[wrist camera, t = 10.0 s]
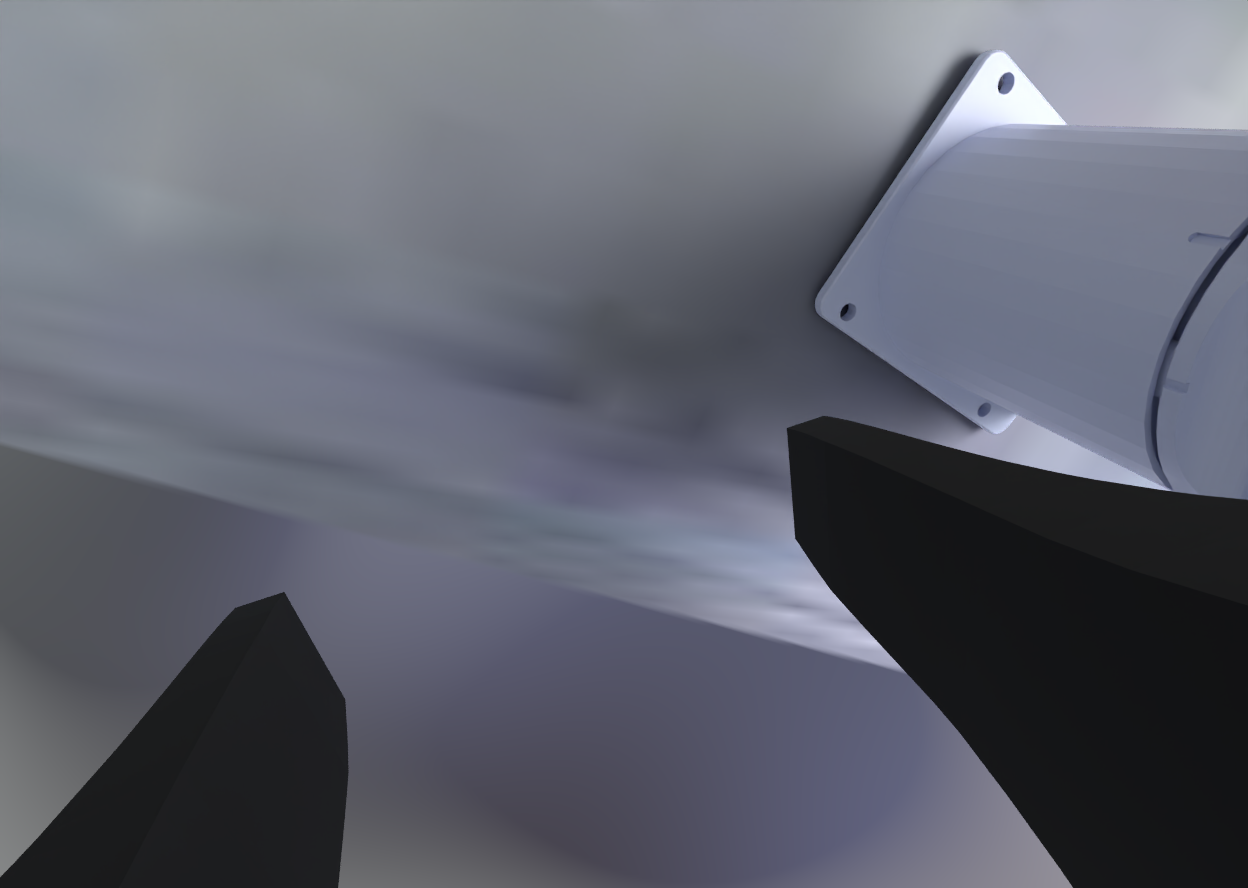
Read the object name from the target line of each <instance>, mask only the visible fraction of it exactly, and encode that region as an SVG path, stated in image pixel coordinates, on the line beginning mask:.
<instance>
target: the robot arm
mask: <svg viewBox="0 0 1248 888" xmlns="http://www.w3.org/2000/svg"><path fill="white" fill-rule="evenodd" d="M1001 76H1002V77H1003V85H1002V87H1001V90H1000V91H998V82H999V79H1000V77H1001ZM846 304H848V308H849V309H848V311H847V313H846V314H845V315H844V316H843V317H840V312H841V310H842V308H843V307H844V306H845V305H846ZM815 309H816V312H817V313H818V314H819V315H820V316H821V317H822V318H824V319H825V320H826V321H828V322H829V323H831V324H832V325H834V326H835V327H837V328H838V329H839V330H841V331H842V332H844V333H845V334H847V335H848V336H850V337H851V338H852V339H854V340H855V341H857V342H858V343H860V344H861V345H863V346H864V347H865V348H867V349H868V350H870V351H871V352H873V353H874V354H876V355H877V356H878V357H880V358H881V359H883V360H884V361H886V362H887V363H889V364H890V365H891V366H893V367H894V368H896V369H897V370H899V371H900V372H902V373H903V374H904V375H906V376H907V377H909V378H910V379H912V380H913V381H915V382H916V383H918V384H919V385H920V386H922V387H923V388H925V389H926V390H928V391H929V392H931V393H932V394H933V395H935V396H936V397H938V398H939V399H941V400H942V401H944V402H945V403H946V404H948V405H949V406H951V407H952V408H954V409H955V410H957V411H958V412H959V413H961V414H962V415H964V416H965V417H967V418H968V419H970V420H971V421H972V422H974V423H975V424H977V425H978V426H980V427H981V428H983V429H984V430H986V431H988V432H989V433H992V434H999V433H1001V432H1002V431H1004V430H1005V429H1006V428H1007V427H1008V426H1009V425H1010V424H1011V422H1012V421H1013V420H1014V419H1015V417H1016V416H1017V415H1019V416H1021V417H1023V418H1025V419H1027V420H1029V421H1031V422H1033V423H1035V424H1037V425H1040V426H1042V427H1044V428H1046V429H1048V430H1050V431H1052V432H1054V433H1056V434H1058V435H1060V436H1062V437H1064V438H1066V439H1068V440H1070V441H1072V442H1074V443H1076V444H1078V445H1080V446H1082V447H1084V448H1086V449H1088V450H1090V451H1092V452H1094V453H1096V454H1098V455H1100V456H1102V457H1104V458H1106V459H1108V460H1110V461H1112V462H1114V463H1116V464H1118V465H1120V466H1122V467H1124V468H1126V469H1128V470H1130V471H1132V472H1134V473H1136V474H1138V475H1140V476H1142V477H1144V478H1146V479H1148V480H1150V481H1152V482H1154V483H1156V484H1158V485H1161V486H1163V487H1165V488H1167V489H1169V490H1171V491H1165V490H1157V489H1151V488H1145V487H1138V486H1132V485H1126V484H1119V483H1113V482H1106V481H1100V480H1094V479H1088V478H1083V477H1077V476H1072V475H1067V474H1062V473H1057V472H1052V471H1047V470H1043V469H1038V468H1034V467H1029V466H1024V465H1020V464H1015V463H1011V462H1006V461H1002V460H998V459H994V458H990V457H985V456H981V455H977V454H973V453H969V452H965V451H961V450H958V449H954V448H950V447H946V446H942V445H939V444H935V443H931V442H927V441H924V440H920V439H916V438H913V437H909V436H905V435H902V434H898V433H894V432H891V431H887V430H883V429H880V428H876V427H872V426H868V425H864V424H860V423H856V422H852V421H848V420H843V419H839V418H833V417H828V416H822V417H819V418H816V419H813V420H810V421H807V422H804V423H801V424H798V425H795V426H792V427H789V428H787V435H788V448H789V462H790V475H791V488H792V501H793V515H794V528H795V539H796V540H797V542H798V543H799V545H800V546H801V548H802V549H803V551H804V552H805V554H806V555H807V557H808V558H809V560H810V561H811V563H812V564H813V566H814V567H815V569H816V570H817V571H818V573H819V574H820V575H821V577H822V578H823V580H824V581H825V582H826V584H827V585H828V587H829V588H830V589H831V591H832V592H833V593H834V594H835V595H836V596H837V598H838V599H839V600H840V601H841V602H842V603H843V604H844V605H845V606H846V608H847V609H848V610H849V611H850V612H851V613H852V614H853V615H854V616H855V617H856V619H857V620H858V621H859V622H860V623H861V624H862V625H863V626H864V627H865V629H866V630H867V631H868V632H869V633H870V634H871V635H872V636H873V637H874V638H875V639H876V640H877V642H878V643H879V644H880V645H881V646H882V647H883V648H884V649H885V650H886V651H887V652H888V653H889V655H890V656H891V657H892V658H893V659H894V660H895V661H896V662H897V663H898V664H899V665H900V666H901V667H902V669H903V670H904V671H905V672H906V673H907V674H908V675H909V676H910V677H911V678H912V679H913V680H914V682H915V683H916V684H917V685H918V686H919V687H920V688H921V689H922V690H923V691H924V692H925V693H926V694H927V696H928V697H929V698H930V699H931V700H932V701H933V702H934V703H935V704H936V705H937V707H938V708H939V709H940V710H941V711H942V712H943V714H944V715H945V716H946V717H947V718H948V719H949V721H950V722H951V723H952V724H953V725H954V727H955V728H956V729H957V730H958V731H959V732H960V734H961V735H962V736H963V738H964V739H965V740H966V742H967V743H968V744H969V745H970V747H971V748H972V749H973V751H974V752H975V753H976V755H977V756H978V757H979V759H980V760H981V761H982V763H983V764H984V765H985V767H986V768H987V769H988V771H989V772H990V773H991V774H992V776H993V777H994V778H995V780H996V781H997V782H998V784H999V785H1000V786H1001V788H1002V789H1003V790H1004V792H1005V793H1006V794H1007V796H1008V797H1009V798H1010V800H1011V801H1012V802H1013V804H1014V805H1015V807H1016V808H1017V809H1018V811H1019V812H1020V814H1021V815H1022V816H1023V818H1024V819H1025V820H1026V822H1027V823H1028V825H1029V826H1030V828H1031V829H1032V830H1033V831H1034V833H1035V834H1036V836H1037V837H1038V839H1039V840H1040V841H1041V843H1042V844H1043V846H1044V847H1045V848H1046V850H1047V851H1048V853H1049V854H1050V855H1051V857H1052V858H1053V859H1054V861H1055V862H1056V864H1057V865H1058V866H1059V868H1060V869H1061V871H1062V872H1063V874H1064V875H1065V876H1066V878H1067V879H1068V881H1069V882H1070V884H1071V885H1072V887H1073V888H1248V130H1229V129H1192V128H1154V127H1117V126H1079V125H1067V124H1066V122H1065V121H1064V120H1063V119H1062V118H1061V116H1060V115H1059V114H1058V113H1057V112H1056V111H1055V109H1054V108H1053V107H1052V106H1051V105H1050V104H1049V102H1048V101H1047V100H1046V99H1045V98H1044V97H1043V95H1042V94H1041V93H1040V92H1039V91H1038V89H1037V88H1036V87H1035V86H1034V85H1033V84H1032V82H1031V81H1030V80H1029V79H1028V78H1027V77H1026V75H1025V74H1024V73H1023V72H1022V71H1021V70H1020V68H1019V67H1018V66H1017V65H1016V64H1015V62H1014V61H1013V60H1012V59H1011V58H1010V57H1009V55H1008V54H1007V53H1005V52H1004V51H1002V50H990V51H986V52H984V53H982V54H980V55H979V56H978V57H977V59H976V60H975V61H974V62H973V64H972V65H971V67H970V68H969V70H968V71H967V73H966V74H965V76H964V77H963V79H962V80H961V82H960V83H959V85H958V86H957V88H956V89H955V91H954V92H953V94H952V95H951V97H950V98H949V100H948V101H947V103H946V104H945V106H944V107H943V109H942V110H941V112H940V113H939V115H938V116H937V117H936V119H935V120H934V122H933V123H932V125H931V126H930V128H929V129H928V131H927V132H926V134H925V135H924V137H923V138H922V140H921V141H920V143H919V144H918V146H917V147H916V149H915V150H914V152H913V153H912V155H911V156H910V158H909V159H908V161H907V162H906V164H905V165H904V167H903V168H902V170H901V171H900V173H899V174H898V175H897V177H896V178H895V180H894V181H893V183H892V184H891V186H890V187H889V189H888V190H887V192H886V193H885V195H884V196H883V198H882V199H881V201H880V202H879V204H878V205H877V207H876V208H875V210H874V211H873V213H872V214H871V216H870V217H869V219H868V220H867V222H866V223H865V225H864V226H863V228H862V229H861V231H860V232H859V233H858V235H857V236H856V238H855V239H854V241H853V242H852V244H851V245H850V247H849V248H848V250H847V251H846V253H845V254H844V256H843V257H842V259H841V260H840V262H839V263H838V265H837V266H836V268H835V269H834V271H833V272H832V274H831V275H830V277H829V278H828V280H827V281H826V283H825V284H824V286H823V287H822V289H821V290H820V291H819V293H818V295H817V297H816V300H815ZM981 405H982V406H981ZM980 406H981V408H980V409H979V407H980ZM978 409H979V410H978ZM345 706H346V705H345V698H344V697H343V695H342V693H341V691H340V690H339V688H338V686H337V684H336V682H335V681H334V679H333V677H332V676H331V674H330V672H329V670H328V668H327V667H326V665H325V663H324V661H323V660H322V658H321V656H320V654H319V653H318V651H317V649H316V647H315V645H314V644H313V642H312V640H311V638H310V637H309V635H308V633H307V631H306V630H305V628H304V626H303V624H302V622H301V621H300V619H299V617H298V616H297V614H296V612H295V610H294V608H293V607H292V605H291V603H290V601H289V600H288V598H287V596H286V594H285V593H284V592H283V593H280V594H277V595H274V596H271V597H267V598H264V599H261V600H258V601H255V602H252V603H249V604H246V605H243V606H240V607H237V608H235V609H234V610H233V611H232V612H231V613H230V614H229V615H228V616H227V617H226V619H224V621H223V622H222V623H221V624H220V625H219V626H218V627H217V628H216V630H215V631H214V632H213V633H212V634H211V636H210V637H209V638H208V639H207V640H206V642H205V643H204V644H203V645H202V646H201V647H200V649H199V650H198V651H197V652H196V654H195V655H194V656H193V657H192V658H191V660H190V661H189V662H188V663H187V664H186V666H185V667H184V668H183V669H182V671H181V672H180V673H179V674H178V676H177V677H176V678H175V679H174V680H173V682H172V683H171V684H170V685H169V687H168V688H167V689H166V690H165V691H164V693H163V694H162V695H161V696H160V697H159V699H158V700H157V701H156V702H155V703H154V705H153V706H152V707H151V708H150V710H149V711H148V712H147V713H146V714H145V716H144V717H143V718H142V719H141V720H140V721H139V723H138V724H137V725H136V726H135V728H134V729H133V730H132V731H131V732H130V734H129V735H128V736H127V737H126V739H125V740H124V741H123V742H122V743H121V744H120V746H119V747H118V748H117V749H116V751H114V752H113V754H112V755H111V756H110V757H109V758H108V759H107V760H106V762H105V763H104V764H103V765H102V766H101V767H100V768H99V769H98V771H97V772H96V773H95V774H94V775H93V776H92V777H91V778H90V780H89V781H88V782H87V783H86V784H85V785H84V786H83V788H82V789H81V790H80V791H79V792H78V793H77V794H76V795H75V797H74V798H73V799H72V800H71V801H70V802H69V803H68V804H67V806H66V807H65V808H64V809H63V810H62V811H61V812H60V813H59V815H58V816H57V817H56V818H55V819H54V820H53V821H52V822H51V824H50V825H49V826H48V827H47V828H46V829H45V830H44V831H43V833H42V834H41V835H40V836H39V837H38V838H37V839H36V840H35V841H34V842H33V844H32V845H31V846H30V847H29V848H28V849H27V850H26V851H25V852H24V853H23V854H22V855H21V856H20V857H19V859H17V861H16V862H15V863H14V864H13V865H12V866H11V867H10V868H9V869H8V870H7V871H6V872H5V873H4V874H3V875H2V876H1V877H0V888H338V882H339V872H340V862H341V852H342V841H343V830H344V819H345V808H346V797H347V784H348V743H347V742H348V741H347V723H346V707H345Z"/></svg>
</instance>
